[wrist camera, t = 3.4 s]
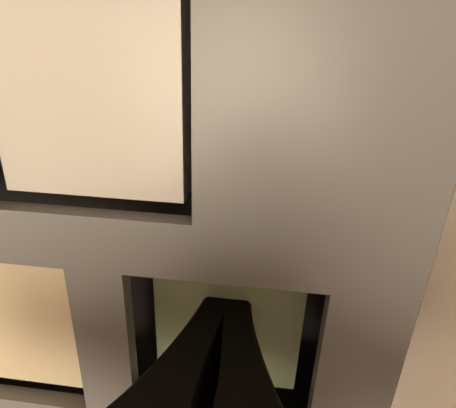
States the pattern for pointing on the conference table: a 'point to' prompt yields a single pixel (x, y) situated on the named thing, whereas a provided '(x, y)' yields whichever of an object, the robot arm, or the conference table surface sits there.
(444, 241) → the conference table surface
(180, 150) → the key cream
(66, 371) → the key sand
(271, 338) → the key sage
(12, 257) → the grey sorting tray
